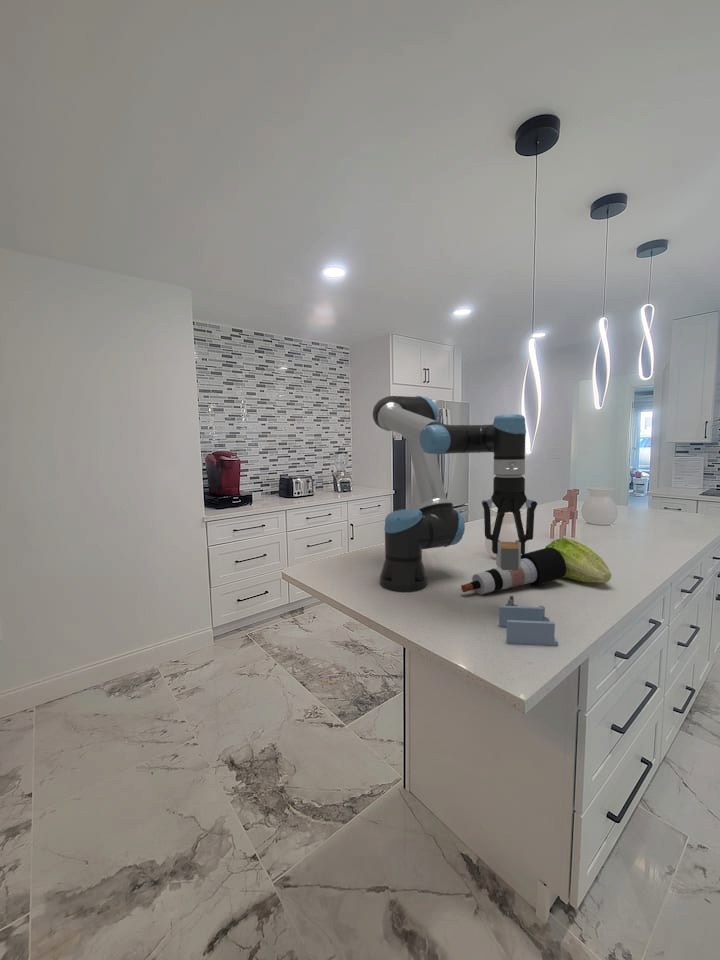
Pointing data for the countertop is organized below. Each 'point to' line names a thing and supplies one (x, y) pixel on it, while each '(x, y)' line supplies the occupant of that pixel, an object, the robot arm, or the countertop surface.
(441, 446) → the robot arm
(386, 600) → the countertop surface
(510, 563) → the block
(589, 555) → the lettuce
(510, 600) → the clip
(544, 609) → the clip
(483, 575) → the cable
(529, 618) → the holder
